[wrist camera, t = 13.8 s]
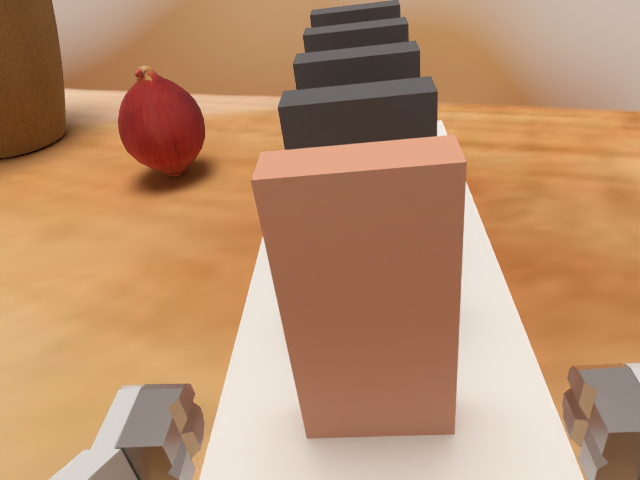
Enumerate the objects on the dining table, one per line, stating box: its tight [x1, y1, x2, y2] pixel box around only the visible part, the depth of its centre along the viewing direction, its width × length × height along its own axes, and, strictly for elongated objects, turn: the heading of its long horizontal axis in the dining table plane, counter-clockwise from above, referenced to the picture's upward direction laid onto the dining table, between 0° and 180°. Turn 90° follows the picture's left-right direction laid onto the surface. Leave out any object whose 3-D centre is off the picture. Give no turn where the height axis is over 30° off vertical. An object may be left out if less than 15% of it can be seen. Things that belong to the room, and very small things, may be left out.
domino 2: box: [303, 17, 409, 53], centre depth 28 cm, size 5×2×10 cm, turn 87°
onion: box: [118, 66, 205, 176], centre depth 36 cm, size 6×6×8 cm
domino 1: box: [310, 0, 400, 28], centre depth 32 cm, size 5×2×10 cm, turn 87°
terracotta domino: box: [251, 135, 467, 439], centre depth 15 cm, size 5×2×10 cm, turn 87°
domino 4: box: [278, 76, 437, 150], centre depth 19 cm, size 5×2×10 cm, turn 87°
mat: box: [199, 121, 584, 480], centre depth 27 cm, size 12×32×1 cm, turn 177°
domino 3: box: [293, 41, 420, 90], centre depth 24 cm, size 5×2×10 cm, turn 87°
